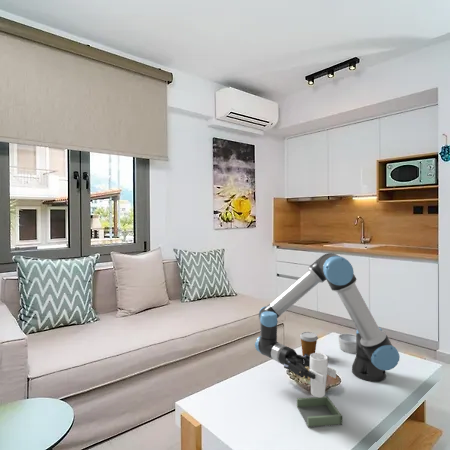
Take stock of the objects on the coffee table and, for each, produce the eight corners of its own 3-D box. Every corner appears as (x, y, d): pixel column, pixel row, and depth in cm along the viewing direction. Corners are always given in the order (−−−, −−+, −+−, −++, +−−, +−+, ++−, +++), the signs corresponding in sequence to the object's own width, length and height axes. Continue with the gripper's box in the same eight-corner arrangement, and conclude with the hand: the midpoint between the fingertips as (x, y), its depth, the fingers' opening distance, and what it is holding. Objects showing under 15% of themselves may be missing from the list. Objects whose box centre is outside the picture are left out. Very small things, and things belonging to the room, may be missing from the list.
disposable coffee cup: (318, 360, 176) (318, 338, 175) (299, 359, 178) (300, 337, 177) (317, 353, 185) (317, 332, 185) (299, 351, 187) (299, 330, 187)
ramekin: (366, 349, 191) (366, 337, 190) (357, 356, 181) (357, 344, 181) (344, 343, 200) (344, 331, 199) (334, 349, 190) (334, 337, 190)
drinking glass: (306, 390, 132) (307, 352, 131) (323, 389, 132) (323, 352, 132) (312, 399, 125) (313, 360, 124) (329, 399, 126) (330, 360, 125)
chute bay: (327, 404, 136) (327, 396, 136) (342, 425, 123) (342, 415, 123) (296, 406, 135) (296, 398, 135) (308, 427, 122) (308, 418, 122)
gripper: (299, 357, 149) (344, 379, 130) (267, 369, 137) (312, 395, 119) (299, 341, 148) (345, 360, 130) (267, 352, 137) (312, 374, 118)
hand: (329, 377), depth 124 cm, fingers closed on drinking glass, 6 cm apart
